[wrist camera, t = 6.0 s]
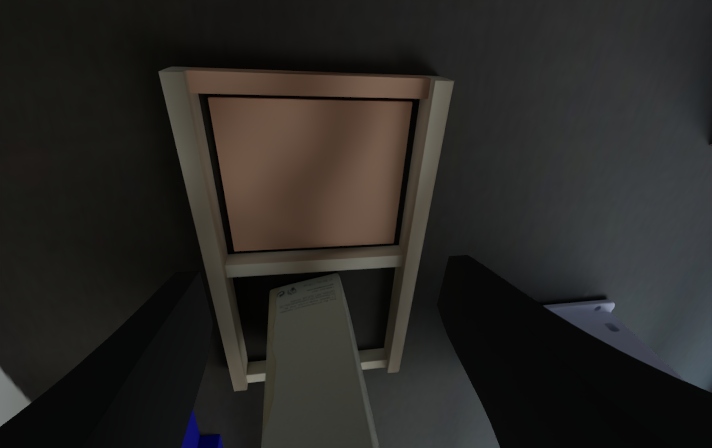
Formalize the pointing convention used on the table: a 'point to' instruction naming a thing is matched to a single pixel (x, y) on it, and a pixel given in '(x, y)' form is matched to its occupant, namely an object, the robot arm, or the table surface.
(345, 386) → the skincare box
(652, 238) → the table surface
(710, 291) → the table surface
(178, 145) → the pink framed panel
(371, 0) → the table surface
